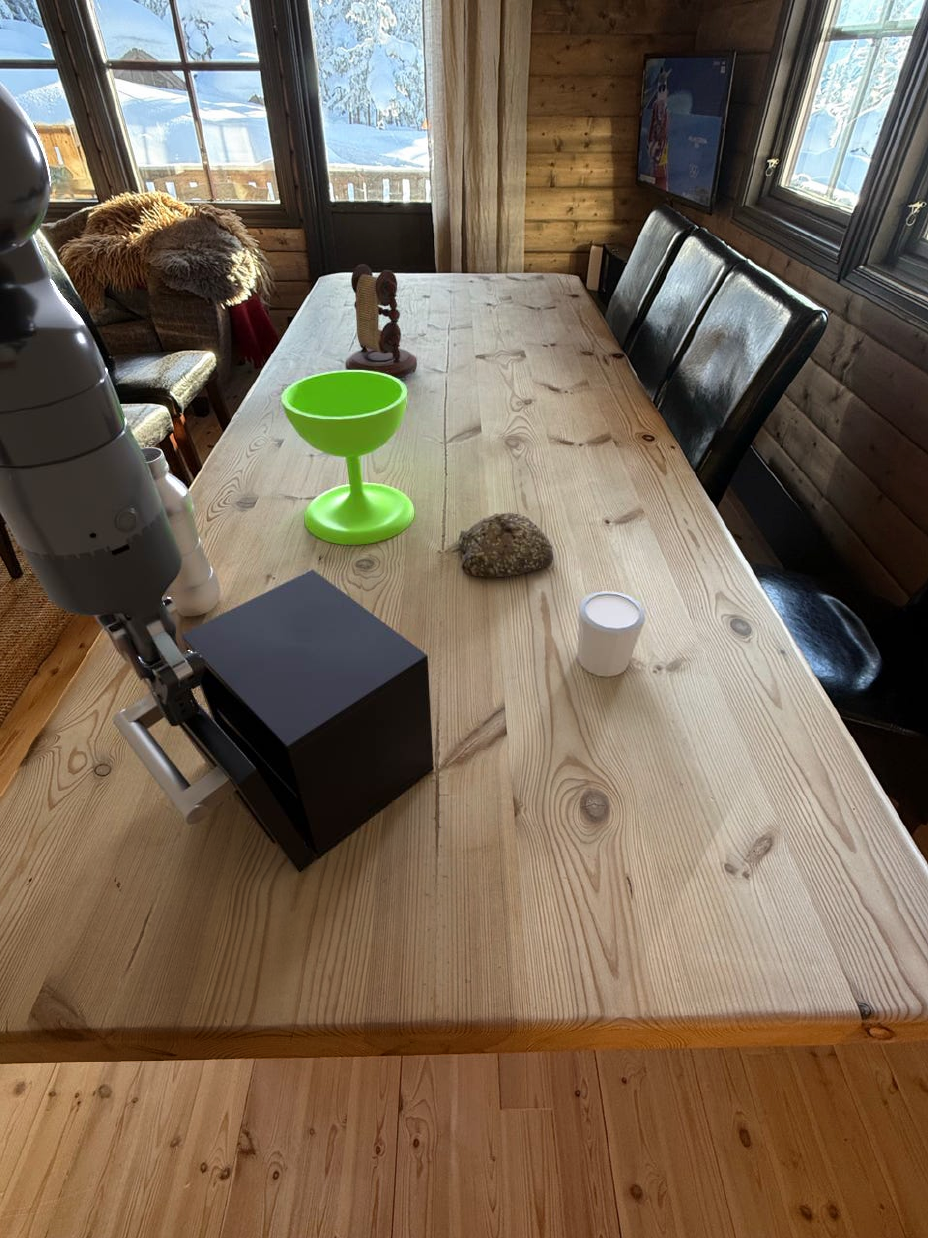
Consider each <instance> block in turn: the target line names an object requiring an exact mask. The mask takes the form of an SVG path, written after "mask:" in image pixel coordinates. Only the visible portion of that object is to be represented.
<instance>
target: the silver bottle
mask: <svg viewBox="0 0 928 1238" xmlns="http://www.w3.org/2000/svg"><path fill="white" fill-rule="evenodd" d="M140 448H141V447H140ZM141 450H142V452H143V454H144V456H145V459H146V461H147V463H148V466H149V468H150V471H151V474H152V477H153V479H154V482H155V485H156V488H157V490H158V493H159V496H160V498H161V501H162V503H163V506H164V509H165V511H166V514H167V517H168V520H169V522H170V525H171V528H172V530H173V533H174V536H175V538H176V541H177V544H178V546H179V549H180V552H181V556H182V565H181V569H180V571H179V574H178V575H177V577H176V579H175V580H174V581H173V583H172V584H171V585H170V586H169V587H168V589H167V590H166V592H165V594H164V595H163V597H162V599H164V598H166V597H169V598H170V599H171V600H172V601H173V603H174V604H175V606H176V608H177V611H178V613H179V616H182V617H198V616H201V615H204V614H206V613H208V612H210V611H211V610H212V609H214V608H215V607H216V605H217V604H218V602H219V600H220V597H221V585H220V580H219V578H218V576H217V574H216V572H215V571H214V569H213V567H212V566H211V565H210V562H209V560H208V558H207V555H206V552H205V551H204V547H203V545H202V543H201V539H200V534H199V531H198V527H197V520H196V515H195V507H194V501H193V497H192V493H191V491H190V490H189V488H188V487H187V486H186V485H185V483H183V482H182V481H181V480H180V479H179V478H177V477H176V476H175V475H173V474H172V473H170V472H169V471H170V465H169V464H168V461H167V460H166V456H165V453H164V452H163V450H162V449H161V448H158V447H154V446H150V447H149V446H147V447H142V448H141Z"/></svg>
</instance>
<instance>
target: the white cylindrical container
mask: <svg viewBox="0 0 928 1238" xmlns="http://www.w3.org/2000/svg"><path fill="white" fill-rule="evenodd" d="M578 609H579V611H578V636H577V639H578V640H577V660H578V663H579V664H580V666H581V667H582V668H583V669H584V670H585V671H587V672H588V673H589V674H593V675H595V676H597V677H598V676H599V677H606V678H609V677H610V678H611V677H614V676H619V675H620V674H622V673H624V672H625V671H626V669H627V668H628V666H629V665H630V662H631V659H632V656H633V653H634V651H635V648H636V645H637V643H638V640H639V638H640V635H641V632H642V629H643V626H644V624H645V621H646V610H645V609H644V607H643V606H642V605H641V603H640V602H639V601H637V600H636V599H635V598H634V597H632V596H631V595H627V594H624V593H622V592H619V591H611V590H601V591H596V592H593V593H591V594H588V595H586V596H584V598H583V599H582V600H581V601H580V603H579V607H578Z"/></svg>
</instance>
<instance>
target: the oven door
mask: <svg viewBox="0 0 928 1238" xmlns="http://www.w3.org/2000/svg"><path fill="white" fill-rule="evenodd" d="M196 702H197V704H198V706H199V712H198V713H197V714H196V715H195V716H194V717H192V718H190V719H188V720H187V721H185V722H183V723H182V724H180V725H178V727H179V729H180V730H181V731H182V732H183V733H184V736H186V737H187V739H188V741H190V743H191V744H192V746H193V747H194V748H195V750H196V751H197V752H198V754H199V755H200V756H201V758H202V760H204V762H205V763H206V764H207V765H208V767H209V768H210V769H211V770H210V771H209V772H207V773H206V774H205V775H203V776H202V777H200V778H199V779H198V780H197V781H195V782H194V783H192V784H190V782H189V781H188V779H186V778H185V776H184V775H183V774H182V772H181V771H180V770H179V767H177V766H176V764H175V762H173V760H172V759H171V758H170V757H169V756H168V754H167V753H166V751H165V750H164V749H163V748H162V746H161V745H160V743H159V742H158V741H157V739H156V738H155V737H154V735H152V733H151V732H150V731H149V730H148V729H150V728H152V727H153V726H154V725H156V724H157V723H158V722H160V721H162V720H163V719H165V717H164V716H163V715H162V714H161V712H160V710H159V708H158V706H157V704H156V702H155V700H154V698H153V696H152V694H151V693H150V692H149V693H148V694H147V695H145V696H143V697H142V698H140V699H139V700H138V701H136V702H134V703H133V704H132V705H130V706H129V707H127V708H124V709H121V710H119V711H118V712H116V714H115V715H114V716H113V718H112V721H113V722H112V723H113V724H114V726H115V727H116V729H117V730H118V731H119V733H120V734H121V735H122V737H123V738H124V740H125V741H126V742H127V744H128V745H129V747H130V748H131V749H132V750H133V752H134V753H135V754H136V756H137V757H138V759H139V760H140V762H141V763H142V764H143V765H144V767H145V768H146V770H147V771H148V772H149V773H150V775H151V776H152V778H153V779H154V781H155V782H156V783H157V785H158V786H159V787H160V788H161V790H162V791H163V793H164V794H165V796H166V797H167V798H168V799H169V801H170V802H171V803H172V805H173V806H174V808H175V809H176V810H177V812H178V813H179V815H180V816H181V818H182V819H183V820H184V821H185V823H186V824H188V825H192V826H193V825H196V824H199V823H200V822H202V821H203V820H204V819H205V818H206V817H207V815H208V814H209V812H211V811H212V810H214V809H215V808H216V807H217V806H218V805H220V804H221V803H222V802H223V801H225V800H226V799H227V798H229V797H231V795H232V796H233V797H234V799H236V802H237V803H238V804H239V805H240V806H241V807H242V808H243V810H244V811H245V812H246V813H247V814H248V816H249V817H250V818H251V820H253V821H254V823H255V824H256V825H257V826H258V828H259V829H260V830H261V832H263V834H264V835H265V836H266V837H267V839H269V841H270V842H271V843H272V844H273V845H275V846H276V848H278V849H279V850H280V852H281V853H282V854H283V855H284V857H285V858H286V859H287V860H288V862H289V863H290V864H291V866H293V868H294V869H295V870H296V872H297V873H299V874H301V873H303V871H305V870H306V869H307V868H308V867H309V866H311V864H313V863H314V862H315V861H316V859H315V857H314V854H312V851H311V850H310V849H309V848H308V846H307V845H306V844H305V843H304V841H303V840H302V838H301V837H300V835H299V834H298V832H297V831H296V829H295V827H294V826H293V824H292V823H291V821H290V820H289V818H288V817H287V815H286V814H285V812H284V810H283V809H282V807H281V806H280V804H279V803H278V801H277V800H276V798H275V796H274V795H273V793H272V792H271V790H270V789H269V787H268V786H267V784H266V783H265V781H264V779H263V778H262V776H261V775H260V773H259V772H258V770H257V769H256V767H255V766H254V765H253V764H252V763H251V762H250V761H249V760H248V758H247V757H246V756H245V755H244V754H243V753H242V752H241V751H240V749H239V748H238V747H237V746H236V745H235V744H234V743H233V741H232V740H231V739H230V738H229V737H228V736H227V735H226V734H225V732H224V731H223V730H222V729H221V728H220V727H219V726H218V724H217V723H216V722H215V721H214V720H213V719H212V717H211V715H210V713H208V712H207V711H206V710H205V709H204V707H203V706H202V705H201V704H200V703H199V702H198V701H197V700H196Z"/></svg>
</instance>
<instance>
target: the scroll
mask: <svg viewBox="0 0 928 1238" xmlns="http://www.w3.org/2000/svg"><path fill="white" fill-rule="evenodd" d="M350 280H351V281H350V282H351V284H350V285H351V288H352V292H353V293H354V294H355V295H354V296H355V301H354V304H353V305H354V309H355V319H356V322H355V323H356V335H357V341H358V344H359V346H360V348H361V349H360V350H358V351H356V352H354V353H352V354H351V355H349V356H348V357H347V358H346V359H345V361H344V365H345V370H366V371H374V372H380V373H384V374H388V375H391V376H393V377H395V378H397V379H398V378H401V377H403V376H407V375H409V374H411V373H416V370H417V367H418V360H417V357H416V356H415V354H413V353H411V352H409V351H407V350H405V349H403V348H400V347H401V344H400V342H401V339H402V332H401V328H400V326H399V324H398V323H399V319H400V318H401V313H400V310H399V309H398V302H397V299H396V297H397V296H398V294H397V292H398V280H397V277H396V275H395V273H394V272H393V271H392V270H389V269H385V270H383V271H381V272H380V273H379V275H378V276H375V275H374V274H373V272H372V270H371V268H370V267H369V265H366V264H359V265H357V266H356V267H355V268H354V269H353V272H352V274H351V279H350ZM383 307H389V308H390V309H389V308H383ZM379 316H384V317H385V318H388V319H389V320H390V321H389V322H387V323H386V324H384V326H383V327H382V329H380V328H379V321H380V318H379Z"/></svg>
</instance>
